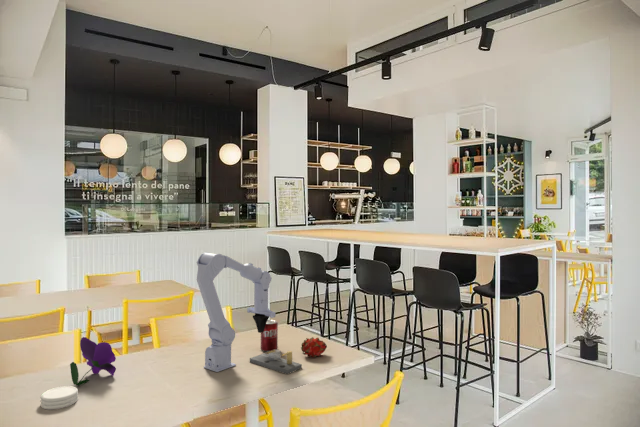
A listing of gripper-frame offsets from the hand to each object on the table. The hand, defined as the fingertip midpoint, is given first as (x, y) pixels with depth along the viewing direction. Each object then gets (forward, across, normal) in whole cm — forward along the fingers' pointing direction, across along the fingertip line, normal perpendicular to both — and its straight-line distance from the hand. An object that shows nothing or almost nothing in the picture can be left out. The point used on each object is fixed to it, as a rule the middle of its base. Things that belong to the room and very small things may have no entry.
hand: (260, 332), depth 183 cm
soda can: (+10, +2, -7) cm, 12 cm away
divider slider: (+8, -11, +5) cm, 14 cm away
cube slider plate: (+9, -13, +5) cm, 17 cm away
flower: (+10, +26, +57) cm, 63 cm away
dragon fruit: (+10, -18, -13) cm, 24 cm away
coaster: (+10, +16, +71) cm, 73 cm away
